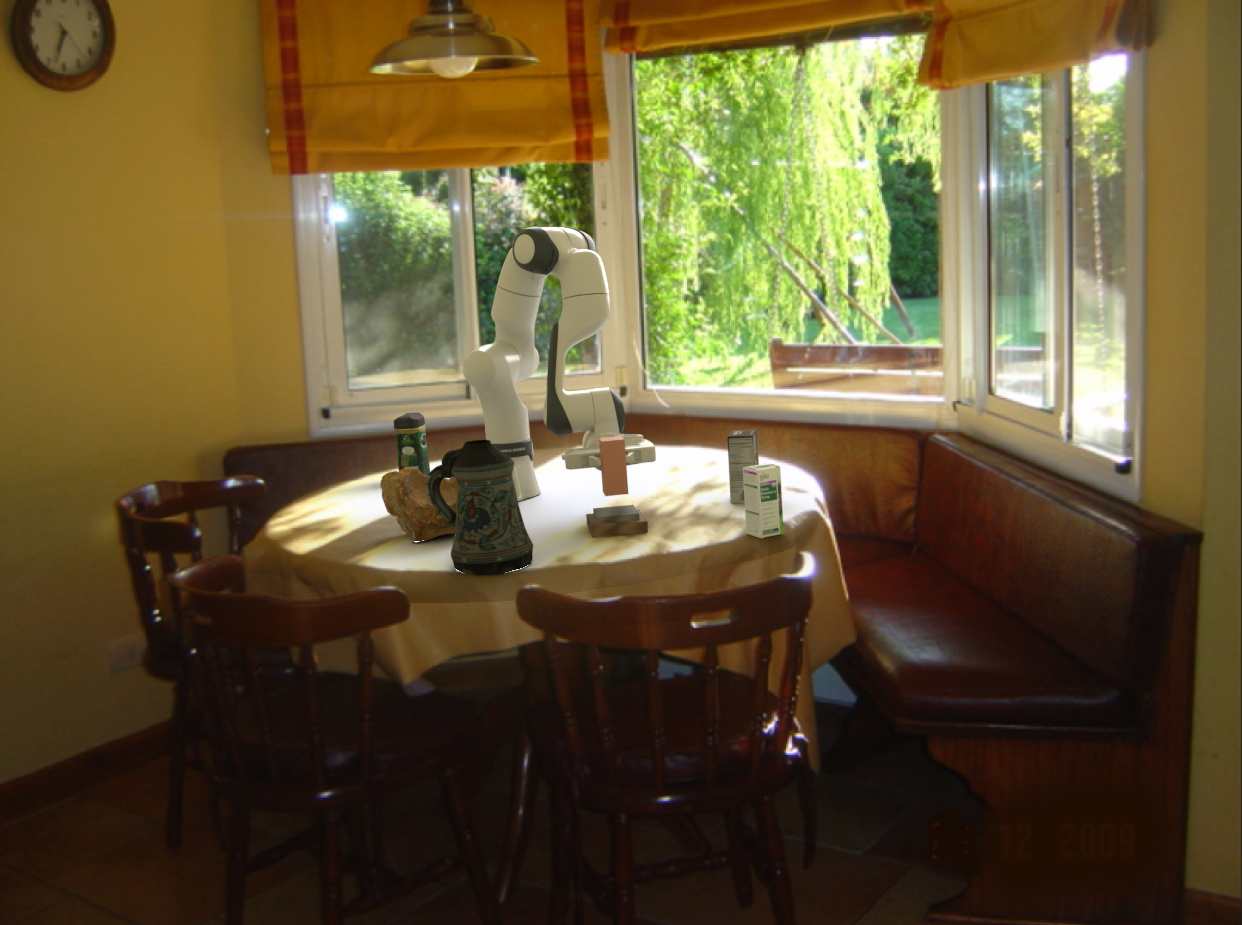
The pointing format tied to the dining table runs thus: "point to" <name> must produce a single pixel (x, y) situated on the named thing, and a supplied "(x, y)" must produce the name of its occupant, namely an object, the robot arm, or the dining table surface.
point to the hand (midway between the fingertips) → (613, 461)
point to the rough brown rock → (417, 503)
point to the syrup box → (763, 500)
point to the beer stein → (482, 510)
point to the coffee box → (741, 459)
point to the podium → (616, 521)
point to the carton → (613, 465)
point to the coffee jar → (412, 442)
